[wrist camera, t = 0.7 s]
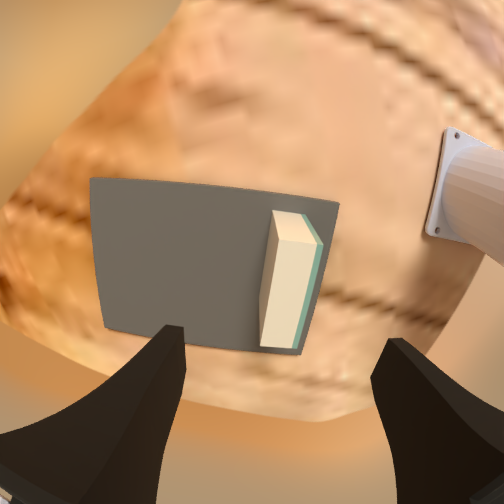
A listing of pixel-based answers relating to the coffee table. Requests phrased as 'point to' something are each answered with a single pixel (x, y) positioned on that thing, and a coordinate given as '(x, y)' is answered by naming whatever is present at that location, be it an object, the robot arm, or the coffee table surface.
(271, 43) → the coffee table surface
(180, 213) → the mat
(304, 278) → the tile
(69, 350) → the coffee table surface
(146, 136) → the coffee table surface
